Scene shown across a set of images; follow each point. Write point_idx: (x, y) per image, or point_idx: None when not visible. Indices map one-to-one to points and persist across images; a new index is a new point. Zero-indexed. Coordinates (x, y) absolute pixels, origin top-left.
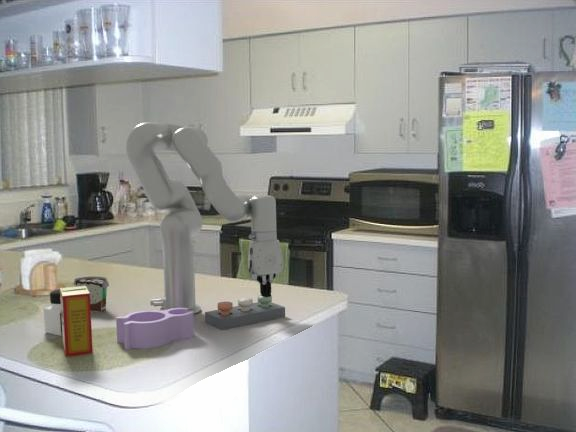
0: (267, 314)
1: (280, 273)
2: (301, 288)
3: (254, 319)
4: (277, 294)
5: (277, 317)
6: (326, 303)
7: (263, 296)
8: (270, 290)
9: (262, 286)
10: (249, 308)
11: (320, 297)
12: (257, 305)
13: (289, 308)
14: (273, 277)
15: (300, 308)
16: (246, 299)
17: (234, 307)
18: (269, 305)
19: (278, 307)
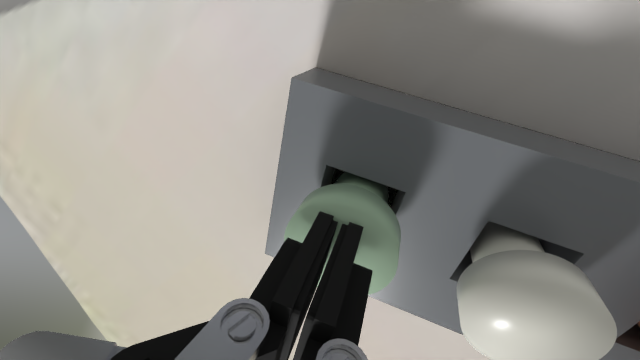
0: (453, 117)
1: (21, 339)
2: (46, 250)
3: (571, 147)
4: (134, 280)
5: (371, 84)
6: (27, 57)
7: None
8: (307, 244)
9: (357, 337)
10: (512, 249)
11: (24, 140)
12: None
13: (197, 151)
14: (164, 352)
15: (158, 106)
16: (516, 325)
17: None
18: None
19: (331, 111)
